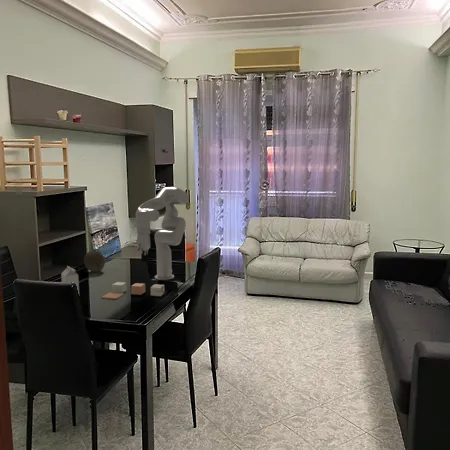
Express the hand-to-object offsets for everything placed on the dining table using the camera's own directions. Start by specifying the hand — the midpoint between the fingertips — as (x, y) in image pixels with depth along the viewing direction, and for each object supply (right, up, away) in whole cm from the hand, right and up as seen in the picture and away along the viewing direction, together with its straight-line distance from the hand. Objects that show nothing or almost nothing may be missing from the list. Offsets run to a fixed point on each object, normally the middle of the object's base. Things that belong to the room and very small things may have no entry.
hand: (144, 261), depth 271 cm
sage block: (-14, -18, -4) cm, 23 cm away
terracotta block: (-2, -18, -7) cm, 19 cm away
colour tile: (-15, -19, -14) cm, 28 cm away
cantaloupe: (-42, -11, +44) cm, 62 cm away
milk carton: (-37, -20, -21) cm, 47 cm away
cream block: (+9, -18, -10) cm, 23 cm away
